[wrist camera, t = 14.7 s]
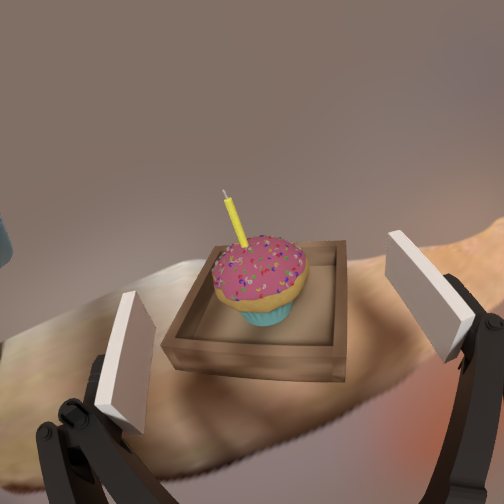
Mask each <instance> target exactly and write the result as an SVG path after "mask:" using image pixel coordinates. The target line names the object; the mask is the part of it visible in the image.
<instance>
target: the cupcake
mask: <svg viewBox="0 0 504 504" xmlns="http://www.w3.org/2000/svg"><path fill="white" fill-rule="evenodd" d="M222 191H223V193H224V196H225V198H226V199H225V200H224V202H225V205H226V208H227V210H228V213H229V216H230V218H231V221H232V223H233V226H234V229H235V231H236V234H237V237H238V239H239V242H238V243H235V244H232V246H231V247H227V250H226V251H225V252H224V253H223V254H221V256H220V257H219V258H218V260H217V261H216V262H215V265H214V269H212V276H213V281H214V288H215V292H216V295H217V297H218V299H219V300H220V301H221V302H222V303H224V304H225V305H227V306H229V307H232V308H234V309H235V310H237V311H239V313H240V314H241V315H242V316H243V317H244V319H245V320H246V321H247V322H249V323H250V324H253V325H256V326H271V325H274V324H277V323H279V322H281V321H282V320H284V319H285V318H286V317H287V316H288V314H289V313H290V311H291V308H292V303H293V300H294V299H295V298H296V297H297V296H298V295H299V293H300V291H301V290H302V288H303V287H304V285H305V281H306V278H307V277H308V276H309V263H308V259H307V257H306V255H305V253H304V252H303V251H302V250H300V249H301V248H300V247H299V248H298V246H296V245H293V243H292V242H291V243H290V242H289V241H286V240H283V239H281V238H277V237H275V236H264V235H263V236H262V235H261V237H260V236H259V237H252V238H247V239H246V236H245V233H244V231H243V228H242V225H241V223H240V220H239V217H238V214H237V212H236V209H235V206H234V203H233V201H232V198H228V196H227V194H226V192H225V190H222Z"/></svg>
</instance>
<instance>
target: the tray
mask: <svg viewBox="0 0 504 504" xmlns="http://www.w3.org/2000/svg"><path fill="white" fill-rule="evenodd" d="M293 245H296V246H298V248H299V247H300V248H301V249H300V250H302V251H303V252H304V253H305V255H306V257H307V259H308V263H309V276H308V277H307V278H306V281H305V285H304V287H303V288H302V290H301V291H300V293H299V295H298V296H297V297H296V298H295V299H294V300H293V303H292V308H291V311H290V313H289V314H288V316H287V317H286V318H285V319H284V320H282V321H281V322H279V323H277V324H274V325H271V326H256V325H253V324H250V323H249V322H247V321H246V320H245V319H244V317H243V316H242V315H241V314H240V313H239V311H237V310H235V309H234V308H232V307H229V306H227V305H225V304H224V303H222V302H221V301H220V300H219V299H218V297H217V295H216V292H215V288H214V281H213V276H212V269H214V265H215V262H216V261H217V260H218V258H219V257H220V256H221V254H223V253H224V252H225V251H226V250H227V247H231V246H232V245H231V246H215V247H214V249H213V250H212V252H211V254H210V256H209V257H208V259H207V261H206V263H205V264H204V266H203V268H202V270H201V272H200V273H199V275H198V277H197V279H196V281H195V282H194V284H193V286H192V288H191V290H190V291H189V293H188V295H187V297H186V299H185V300H184V302H183V304H182V306H181V308H180V310H179V311H178V313H177V315H176V317H175V319H174V321H173V323H172V324H171V326H170V328H169V330H168V332H167V334H166V336H165V337H164V339H163V341H162V343H161V345H160V346H161V348H162V349H163V351H164V352H165V354H166V356H167V357H168V359H169V360H170V362H171V363H172V365H173V367H174V368H175V369H177V370H183V371H190V372H197V373H204V374H212V375H221V376H230V377H240V378H251V379H263V380H278V381H299V382H345V374H346V353H347V256H346V241H345V240H344V241H320V242H297V243H293Z"/></svg>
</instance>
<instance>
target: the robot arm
mask: <svg viewBox="0 0 504 504" xmlns="http://www.w3.org/2000/svg"><path fill="white" fill-rule="evenodd" d="M12 255H13V247H12V244H11V241H10V239H9V236H8V233H7V231H6V228H5V225H4V223H3V220H2V217H1V214H0V268H2V267H3V266H4V265H5V264H7V263H8V262H9V261H10V260H11V258H12ZM385 276H386V277H387V279H388V280H389V281H390V283H391V284H392V286H393V287H394V288H395V290H396V291H397V293H398V294H399V296H400V297H401V298H402V300H403V301H404V303H405V304H406V306H407V307H408V309H409V310H410V312H411V313H412V315H413V316H414V318H415V319H416V321H417V322H418V324H419V325H420V327H421V328H422V330H423V331H424V333H425V334H426V336H427V338H428V339H429V341H430V342H431V344H432V346H433V347H434V349H435V350H436V352H437V354H438V355H439V357H440V358H441V360H442V362H443V363H447V362H449V361H451V360H453V359H455V358H457V356H458V354H459V352H460V350H462V352H463V353H464V357H463V359H462V361H461V363H460V365H459V367H458V369H460V368H461V372H460V377H459V383H458V388H457V392H456V397H455V402H454V406H453V410H452V414H451V418H450V422H449V425H448V429H447V432H446V436H445V439H444V443H443V446H442V449H441V452H440V456H439V458H438V461H437V464H436V467H435V470H434V472H433V475H432V478H431V480H430V483H429V485H428V488H427V490H426V493H425V495H424V497H423V498H422V500H421V501H420V502H419V504H485V502H486V498H487V490H486V489H485V487H484V486H485V480H486V477H487V473H488V470H489V466H490V462H491V458H492V454H493V449H494V444H495V440H496V434H497V429H498V423H499V417H500V410H501V403H502V394H503V399H504V320H503V319H502V318H501V317H500V316H498V315H496V314H493V313H487V312H486V311H485V310H484V309H483V307H482V306H481V305H480V304H479V303H478V301H477V300H476V299H475V298H474V297H473V295H472V294H471V293H469V291H468V290H467V289H466V287H464V285H463V284H462V283H461V282H460V281H459V279H458V278H456V277H454V276H452V275H451V274H449V273H448V274H446V275H442V274H441V273H440V272H439V271H438V270H437V269H436V268H435V266H434V265H433V264H432V263H431V262H430V261H429V260H428V259H427V258H426V257H425V255H424V254H423V253H422V252H421V251H420V250H419V249H418V248H417V247H416V246H415V245H414V244H413V243H412V242H411V241H410V240H409V239H408V238H407V237H406V236H405V235H404V234H403V233H402V232H401V231H400V230H398V231H393V232H390V233H388V236H387V253H386V266H385ZM155 330H156V327H155V325H154V323H153V321H152V320H151V318H150V316H149V314H148V312H147V311H146V309H145V307H144V305H143V303H142V301H141V299H140V298H139V296H138V294H137V292H136V291H131V292H127V293H123V295H122V298H121V301H120V305H119V308H118V311H117V315H116V318H115V322H114V325H113V329H112V332H111V336H110V340H109V344H108V347H107V351H106V354H105V355H98V357H97V358H96V360H95V361H94V363H93V365H92V369H91V372H90V374H91V375H90V376H89V380H88V381H89V383H88V384H87V388H86V393H85V397H84V401H83V403H82V402H81V401H80V400H79V399H76V398H72V399H69V400H67V401H65V402H64V403H63V404H62V405H61V407H60V409H59V412H58V418H59V421H61V422H62V423H63V425H60V426H56V425H55V424H54V423H52V422H49V421H48V422H44V423H43V424H41V425H40V426H39V428H38V429H37V432H36V442H37V449H38V455H39V460H40V465H41V470H42V475H43V480H44V484H45V488H46V492H47V496H48V500H49V504H109V503H108V501H107V498H106V496H105V493H104V491H103V488H102V485H101V483H100V480H101V482H102V483H103V485H104V486H105V488H106V489H107V491H108V492H109V494H110V495H111V496H112V498H113V499H114V501H115V502H116V503H117V504H179V503H178V502H177V501H176V500H175V499H174V498H173V497H172V496H171V495H170V494H169V493H168V491H167V490H166V489H165V488H164V487H163V486H162V485H161V484H160V483H159V481H158V480H157V479H156V478H155V477H154V476H153V475H152V473H151V472H150V471H149V470H148V469H147V467H146V466H145V465H144V464H143V463H142V461H141V460H140V459H139V458H138V456H137V455H136V454H135V453H134V451H133V450H132V449H131V448H130V446H129V445H128V444H127V442H126V441H125V440H124V439H123V438H122V430H123V431H124V432H125V433H127V434H128V435H144V428H145V416H146V405H147V395H148V385H149V376H150V368H151V360H152V352H153V344H154V337H155ZM99 479H100V480H99Z"/></svg>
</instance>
